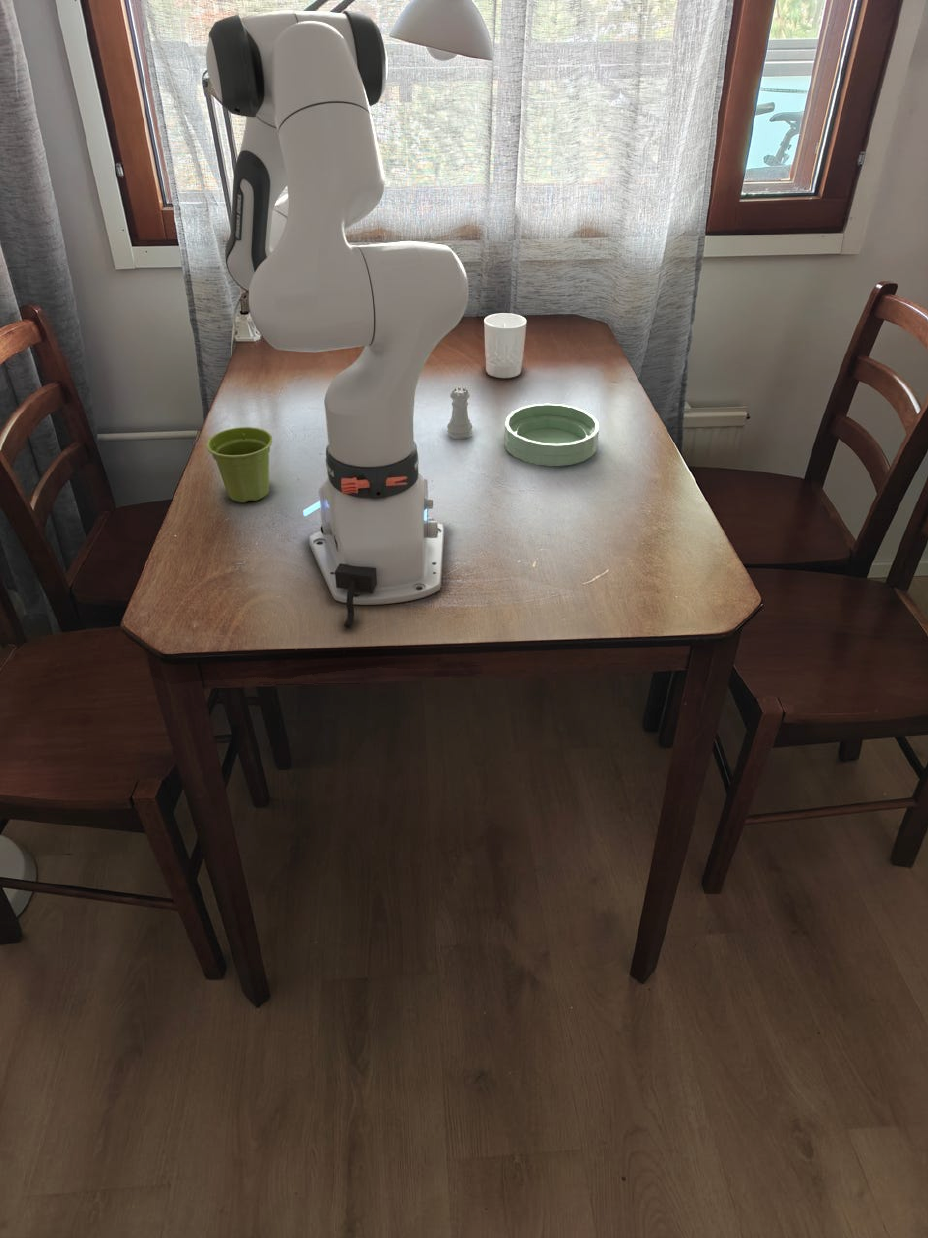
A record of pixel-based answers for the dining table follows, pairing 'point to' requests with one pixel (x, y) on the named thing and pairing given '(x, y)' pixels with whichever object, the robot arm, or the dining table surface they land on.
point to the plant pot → (243, 461)
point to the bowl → (551, 434)
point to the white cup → (504, 344)
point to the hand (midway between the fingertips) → (402, 304)
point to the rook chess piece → (459, 415)
